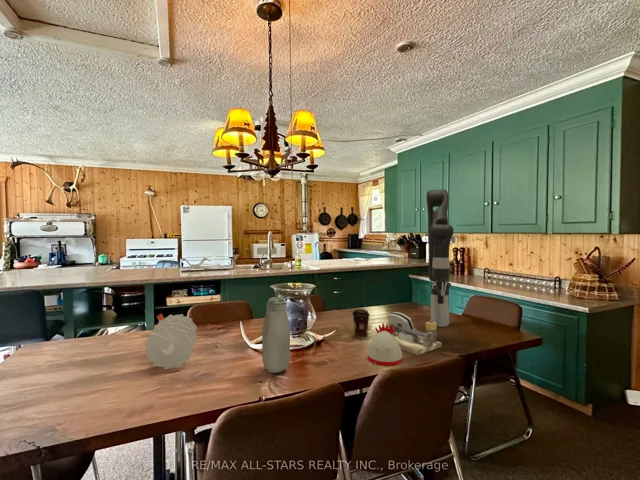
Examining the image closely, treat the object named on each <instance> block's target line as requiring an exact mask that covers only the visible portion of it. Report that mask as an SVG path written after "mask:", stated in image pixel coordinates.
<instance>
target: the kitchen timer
mask: <svg viewBox="0 0 640 480" xmlns="http://www.w3.org/2000/svg"><path fill="white" fill-rule="evenodd" d="M388 325H389V323H386V325H385V322H382V324H381V325H380V324H378V328H377V327H375V331H376V334H375V335H373V337H372V339H371V342H370V343H369V345H368V350H367V359H368V361H369V362H370V363H372V364H375V365H377V366H384V367H393V366H398V365H400V364H401V363H403V352H402V349H401V348H400V345H399V344H400V343H399V342H398V341H397V339H396V337H395V336H394V335H393V332H394V330H395V328H396V327H395V328H394V329H392V324H391V326H390V325H389V326H390V327H389V326H388Z"/></svg>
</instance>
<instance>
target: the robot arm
mask: <svg viewBox="0 0 640 480" xmlns="http://www.w3.org/2000/svg"><path fill="white" fill-rule="evenodd" d="M449 198H450V197H449V192H448V190H447V189H445V188H444V189H443V188H442V189H431V190H430V189H429V190H428V191H427V192H426V206H427V207H426V209H427V238H428V240H427V241H428V242H427V243H428V269H427V271H428V273H427V275H428V280H429V281H430V282H433V284H430V288H431V289H430V321H433V322H436V323H437V327H440V328H441V327H443V328H444V327H448V326H449V325H450V307H449V300H450V298H449V297H450V296H449V293H450V291H449V290H450V288H451V286H452V283H451V282H450V275H451V274H450V268H451V267H450V263H451V262H450V246H451V241H452V239H453V235H454V233H455V232H454V231H455V230H454V227H453V225H452V224H449V217H448V213H449V200H450V199H449ZM434 208H436V209H434Z"/></svg>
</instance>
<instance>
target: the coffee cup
mask: <svg viewBox="0 0 640 480" xmlns="http://www.w3.org/2000/svg"><path fill="white" fill-rule="evenodd" d="M352 315H353V319H352V322H353V330H354V337H355V338H357V339H367V338H368V335H369V334H368V332H369V319H370V313H369V311H368V310H366V309H364V308H361V309H360V308H357V309H354V310H353V311H352Z"/></svg>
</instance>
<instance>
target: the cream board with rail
mask: <svg viewBox="0 0 640 480" xmlns="http://www.w3.org/2000/svg"><path fill="white" fill-rule="evenodd" d="M397 325H399V326H402V323H399V322H398V323H397ZM395 327H396V325H394V324H392V329H394V328H395ZM396 331H397V332H396ZM424 331H425V332H424V333H425V334H423V337H421V336H417V335H414V334H411V333H408V332H404V331H401V330H398V329H396V328H395V330H394V332H393V335H394V336H395V337H396V339H397V341H398V342H399V343H400V344H399V345H400V348H401V351H402V350H403V351H405V352H408V353H410V354H413V355H416V356H419V355H421V354H425V353H427V352H431V351H434V350H437V349H440V348H442V342H440V341H437V329H436V330H432V331H430V330H427V329H426V328H425V329H424Z"/></svg>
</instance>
